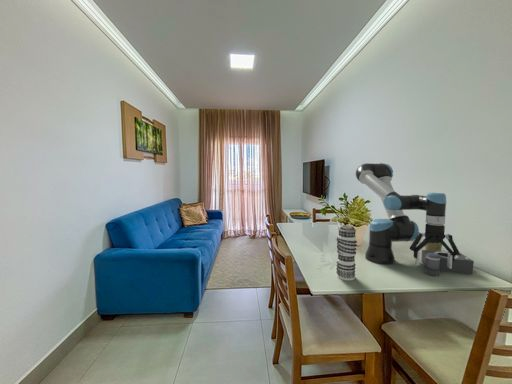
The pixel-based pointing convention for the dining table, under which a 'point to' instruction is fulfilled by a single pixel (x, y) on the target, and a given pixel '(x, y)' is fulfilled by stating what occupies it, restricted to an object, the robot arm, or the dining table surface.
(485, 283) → the dining table surface
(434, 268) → the lens
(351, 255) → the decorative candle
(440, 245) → the coffee cup
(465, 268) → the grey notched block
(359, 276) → the dining table surface
